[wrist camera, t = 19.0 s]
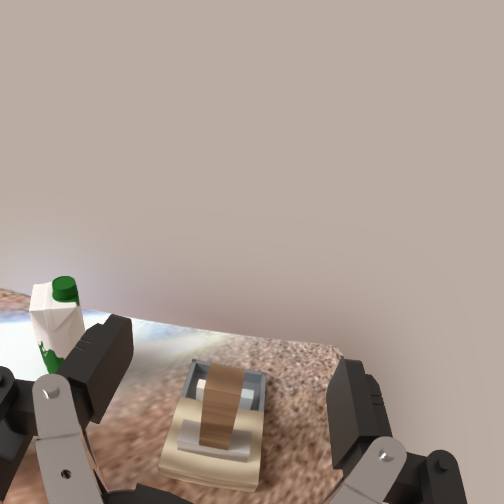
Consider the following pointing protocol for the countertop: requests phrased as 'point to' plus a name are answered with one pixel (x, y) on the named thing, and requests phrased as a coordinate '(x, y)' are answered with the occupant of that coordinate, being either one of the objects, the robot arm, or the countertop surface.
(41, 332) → the milk carton
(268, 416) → the countertop surface
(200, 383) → the tile
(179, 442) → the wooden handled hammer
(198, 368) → the tray
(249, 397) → the tile
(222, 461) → the light wood board
